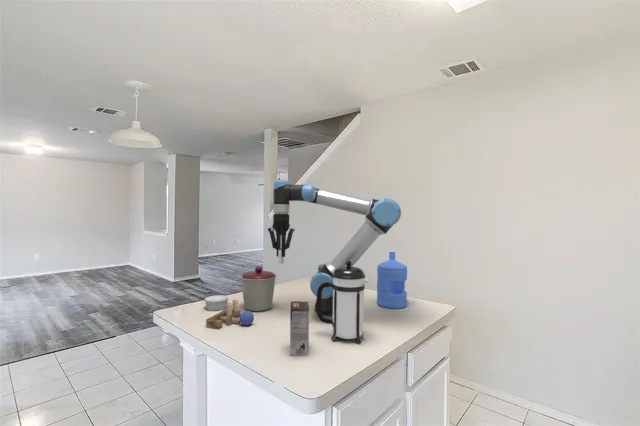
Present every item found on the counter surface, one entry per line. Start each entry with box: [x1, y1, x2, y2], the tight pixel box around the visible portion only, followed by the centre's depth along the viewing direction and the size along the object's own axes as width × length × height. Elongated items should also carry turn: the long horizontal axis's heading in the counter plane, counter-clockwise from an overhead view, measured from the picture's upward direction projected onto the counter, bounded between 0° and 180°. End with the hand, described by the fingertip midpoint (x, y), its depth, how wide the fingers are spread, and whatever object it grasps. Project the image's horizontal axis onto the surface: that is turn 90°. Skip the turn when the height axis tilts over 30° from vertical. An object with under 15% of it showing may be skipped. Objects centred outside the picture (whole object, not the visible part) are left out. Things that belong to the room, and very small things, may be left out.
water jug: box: [376, 251, 408, 310], centre depth 168 cm, size 16×16×28 cm
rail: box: [205, 309, 242, 330], centre depth 139 cm, size 7×17×3 cm, turn 164°
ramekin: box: [204, 294, 229, 312], centre depth 159 cm, size 11×11×5 cm
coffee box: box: [289, 300, 310, 357], centre depth 111 cm, size 9×6×16 cm
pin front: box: [220, 316, 242, 325], centre depth 138 cm, size 2×2×9 cm
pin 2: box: [232, 299, 239, 318], centre depth 141 cm, size 2×2×9 cm
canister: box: [239, 266, 278, 312], centre depth 159 cm, size 18×18×21 cm
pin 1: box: [225, 302, 233, 326], centre depth 136 cm, size 2×2×9 cm
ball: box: [239, 310, 255, 326], centre depth 136 cm, size 6×6×6 cm
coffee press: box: [316, 261, 370, 345], centre depth 123 cm, size 17×16×30 cm
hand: (280, 263), depth 148 cm, fingers closed
